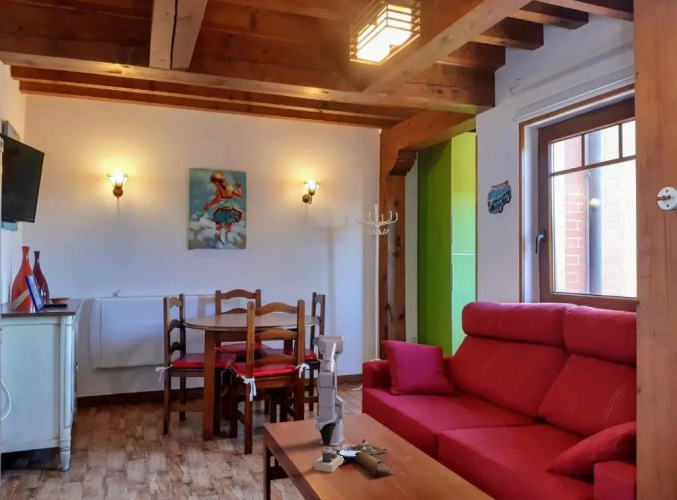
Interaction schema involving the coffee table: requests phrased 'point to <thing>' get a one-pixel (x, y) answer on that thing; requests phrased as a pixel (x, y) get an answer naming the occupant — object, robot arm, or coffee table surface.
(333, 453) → the knob middle
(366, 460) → the sunglasses case
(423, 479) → the coffee table surface
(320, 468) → the knob board
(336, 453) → the knob
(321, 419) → the robot arm
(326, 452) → the knob
